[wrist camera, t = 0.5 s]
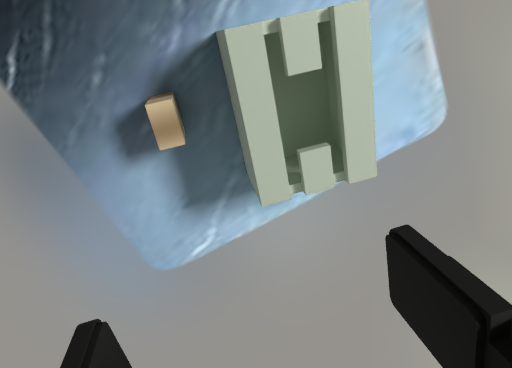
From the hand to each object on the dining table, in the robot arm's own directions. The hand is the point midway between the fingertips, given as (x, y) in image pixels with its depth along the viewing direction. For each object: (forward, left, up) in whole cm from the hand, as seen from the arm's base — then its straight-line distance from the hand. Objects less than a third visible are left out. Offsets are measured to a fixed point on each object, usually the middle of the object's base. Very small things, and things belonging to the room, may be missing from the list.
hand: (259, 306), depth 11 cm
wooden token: (-1, -4, -29) cm, 30 cm away
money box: (0, +9, -29) cm, 31 cm away
